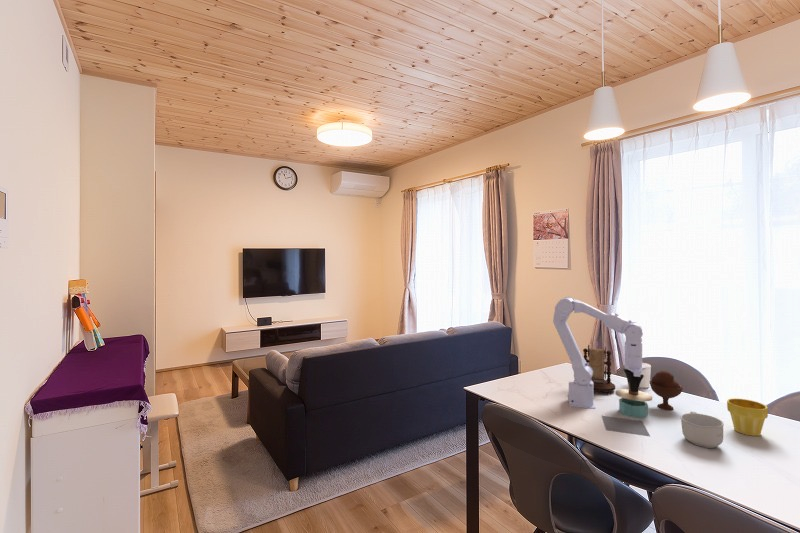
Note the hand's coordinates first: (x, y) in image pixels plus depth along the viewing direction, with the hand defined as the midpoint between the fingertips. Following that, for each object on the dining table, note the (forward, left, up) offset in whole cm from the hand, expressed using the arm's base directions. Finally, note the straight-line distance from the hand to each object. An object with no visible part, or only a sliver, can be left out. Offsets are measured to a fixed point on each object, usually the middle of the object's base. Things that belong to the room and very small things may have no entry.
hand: (633, 390), depth 147 cm
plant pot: (+33, -4, -9) cm, 35 cm away
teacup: (+16, -18, -9) cm, 26 cm away
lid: (0, 0, -2) cm, 2 cm away
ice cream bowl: (+13, +11, -9) cm, 19 cm away
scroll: (-10, +26, -9) cm, 29 cm away
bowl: (0, 0, -9) cm, 9 cm away
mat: (-5, -14, -9) cm, 17 cm away
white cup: (+9, +39, -9) cm, 41 cm away
